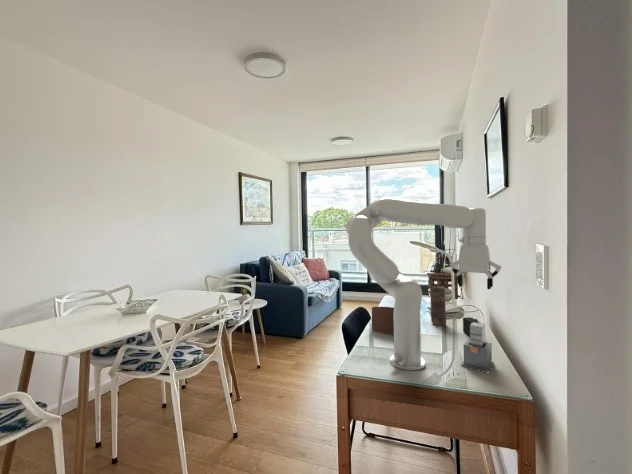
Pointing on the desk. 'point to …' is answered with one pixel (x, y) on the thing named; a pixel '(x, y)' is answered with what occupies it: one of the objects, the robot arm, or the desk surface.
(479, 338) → the column
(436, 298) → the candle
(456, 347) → the desk surface
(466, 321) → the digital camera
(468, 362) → the stand base
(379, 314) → the letter holder
